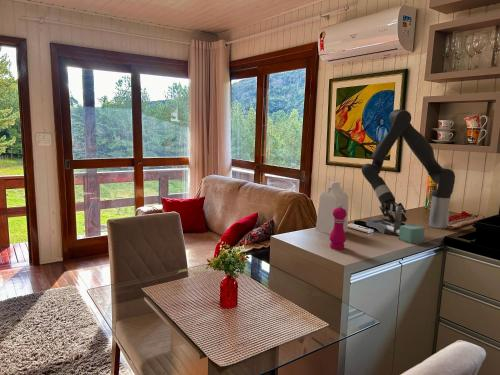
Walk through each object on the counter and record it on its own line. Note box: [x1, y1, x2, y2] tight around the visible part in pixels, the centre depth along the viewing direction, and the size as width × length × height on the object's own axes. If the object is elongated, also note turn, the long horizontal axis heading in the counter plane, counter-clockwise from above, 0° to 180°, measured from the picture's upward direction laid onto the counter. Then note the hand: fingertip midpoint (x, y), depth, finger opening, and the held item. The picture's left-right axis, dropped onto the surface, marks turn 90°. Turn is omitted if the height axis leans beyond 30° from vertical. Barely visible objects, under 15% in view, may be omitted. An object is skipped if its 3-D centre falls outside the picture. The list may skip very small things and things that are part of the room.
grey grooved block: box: [365, 216, 394, 235], centre depth 197 cm, size 8×13×5 cm, turn 26°
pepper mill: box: [329, 204, 347, 251], centre depth 164 cm, size 7×7×20 cm
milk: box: [315, 181, 349, 235], centre depth 190 cm, size 12×12×26 cm
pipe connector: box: [378, 216, 406, 226], centre depth 203 cm, size 12×5×15 cm
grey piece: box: [387, 206, 403, 235], centre depth 185 cm, size 3×18×14 cm, turn 26°
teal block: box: [398, 223, 426, 244], centre depth 179 cm, size 9×7×7 cm
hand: (399, 221), depth 185 cm, fingers open, 7 cm apart
